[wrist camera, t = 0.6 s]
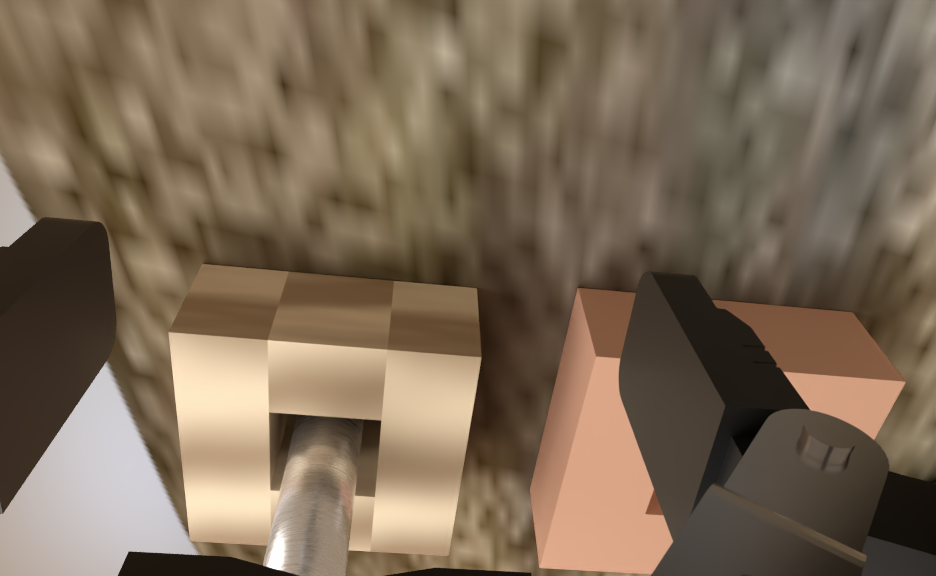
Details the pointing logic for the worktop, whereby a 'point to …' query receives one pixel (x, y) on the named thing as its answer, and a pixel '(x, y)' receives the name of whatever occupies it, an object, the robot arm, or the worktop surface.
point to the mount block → (324, 398)
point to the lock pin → (316, 498)
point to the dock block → (615, 447)
